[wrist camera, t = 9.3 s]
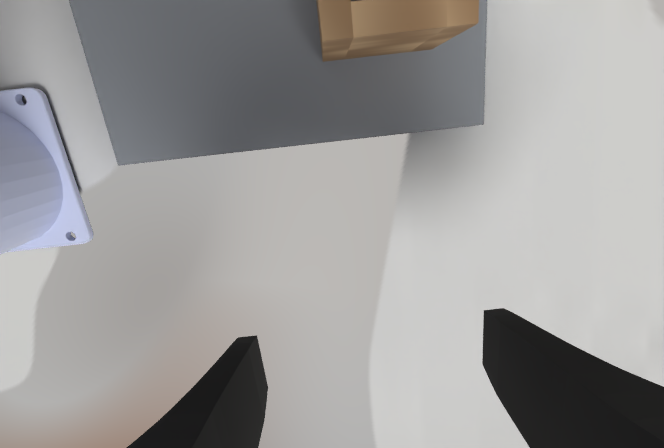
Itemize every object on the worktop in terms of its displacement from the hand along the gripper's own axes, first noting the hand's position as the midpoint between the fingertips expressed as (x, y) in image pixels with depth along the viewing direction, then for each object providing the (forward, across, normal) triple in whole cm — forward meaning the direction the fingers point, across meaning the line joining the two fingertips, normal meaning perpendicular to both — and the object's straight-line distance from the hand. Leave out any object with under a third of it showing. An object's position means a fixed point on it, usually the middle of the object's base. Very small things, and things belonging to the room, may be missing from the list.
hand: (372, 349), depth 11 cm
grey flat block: (+9, +2, -12) cm, 15 cm away
